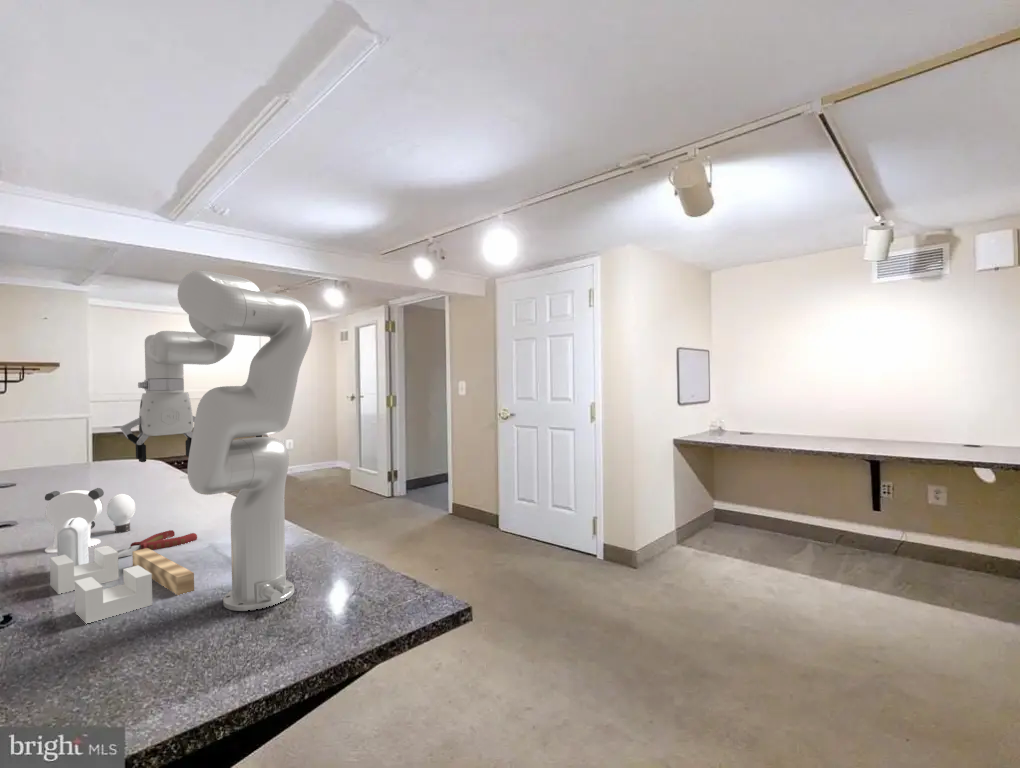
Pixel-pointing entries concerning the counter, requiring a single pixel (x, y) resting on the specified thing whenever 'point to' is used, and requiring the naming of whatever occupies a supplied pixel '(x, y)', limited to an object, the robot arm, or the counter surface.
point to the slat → (165, 571)
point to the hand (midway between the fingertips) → (166, 458)
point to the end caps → (89, 592)
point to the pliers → (157, 542)
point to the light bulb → (121, 511)
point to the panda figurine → (73, 510)
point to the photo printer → (74, 540)
